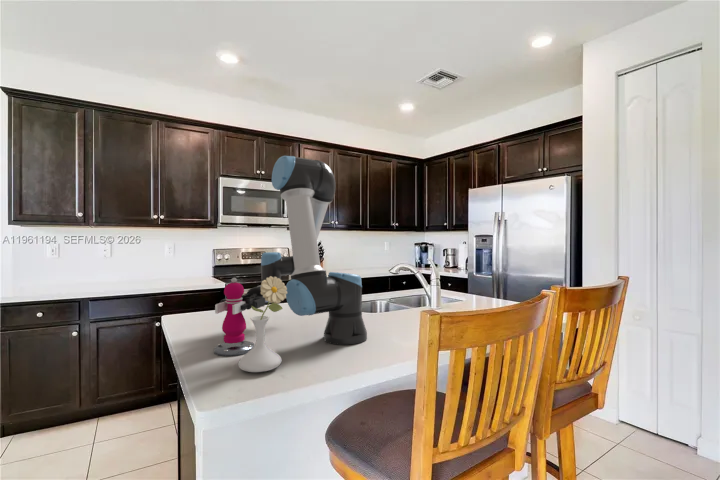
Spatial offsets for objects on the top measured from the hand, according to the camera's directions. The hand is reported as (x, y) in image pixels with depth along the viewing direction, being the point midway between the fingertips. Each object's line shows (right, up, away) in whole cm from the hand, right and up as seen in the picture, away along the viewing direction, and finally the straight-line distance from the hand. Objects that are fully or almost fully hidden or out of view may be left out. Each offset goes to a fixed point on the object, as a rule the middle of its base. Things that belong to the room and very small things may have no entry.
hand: (225, 309), depth 107 cm
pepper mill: (+1, -11, +5) cm, 12 cm away
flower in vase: (+14, -14, -10) cm, 23 cm away
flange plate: (+1, -14, +5) cm, 15 cm away
